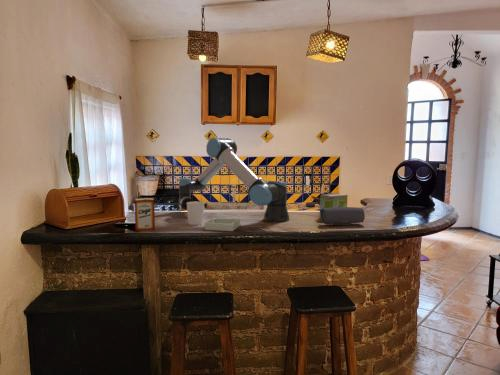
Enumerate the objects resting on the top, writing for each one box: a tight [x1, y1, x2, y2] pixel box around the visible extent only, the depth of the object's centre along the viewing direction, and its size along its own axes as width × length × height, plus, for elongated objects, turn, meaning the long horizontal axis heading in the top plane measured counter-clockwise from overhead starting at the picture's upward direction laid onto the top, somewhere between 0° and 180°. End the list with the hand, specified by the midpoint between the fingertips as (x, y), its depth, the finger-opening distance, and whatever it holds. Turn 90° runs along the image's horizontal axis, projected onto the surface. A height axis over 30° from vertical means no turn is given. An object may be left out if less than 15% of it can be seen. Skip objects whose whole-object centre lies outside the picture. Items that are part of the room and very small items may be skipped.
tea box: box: [318, 193, 348, 219], centre depth 220 cm, size 15×10×15 cm, turn 131°
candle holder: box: [186, 200, 205, 226], centre depth 201 cm, size 10×10×12 cm
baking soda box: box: [134, 197, 156, 232], centre depth 186 cm, size 10×6×16 cm
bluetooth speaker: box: [319, 206, 365, 226], centre depth 200 cm, size 23×9×10 cm, turn 100°
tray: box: [204, 217, 241, 232], centre depth 192 cm, size 15×15×4 cm
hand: (192, 208), depth 210 cm, fingers open, 13 cm apart
